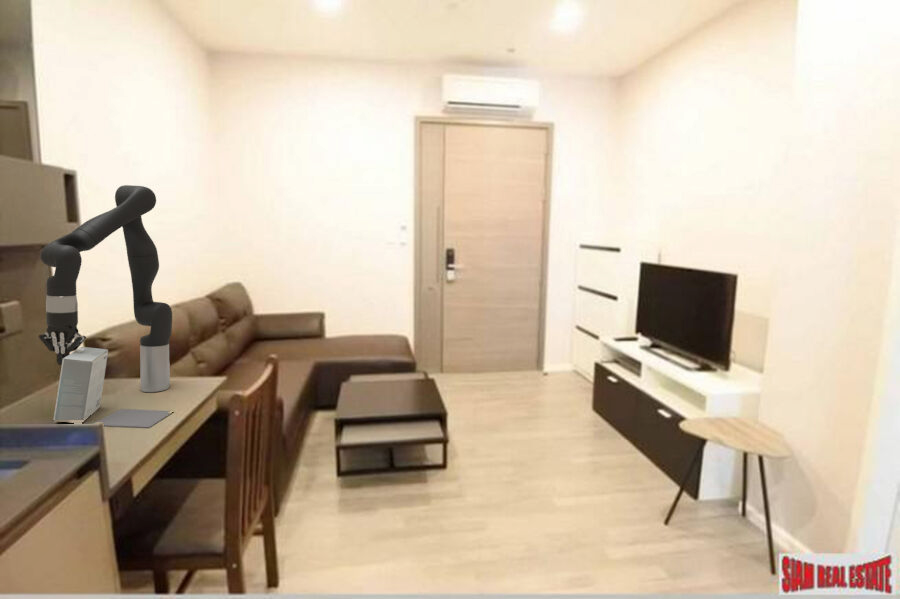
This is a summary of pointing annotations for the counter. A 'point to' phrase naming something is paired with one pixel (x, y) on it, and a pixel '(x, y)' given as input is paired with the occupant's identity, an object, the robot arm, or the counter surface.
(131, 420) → the rubber mat
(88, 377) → the hard drive box
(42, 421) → the counter surface
